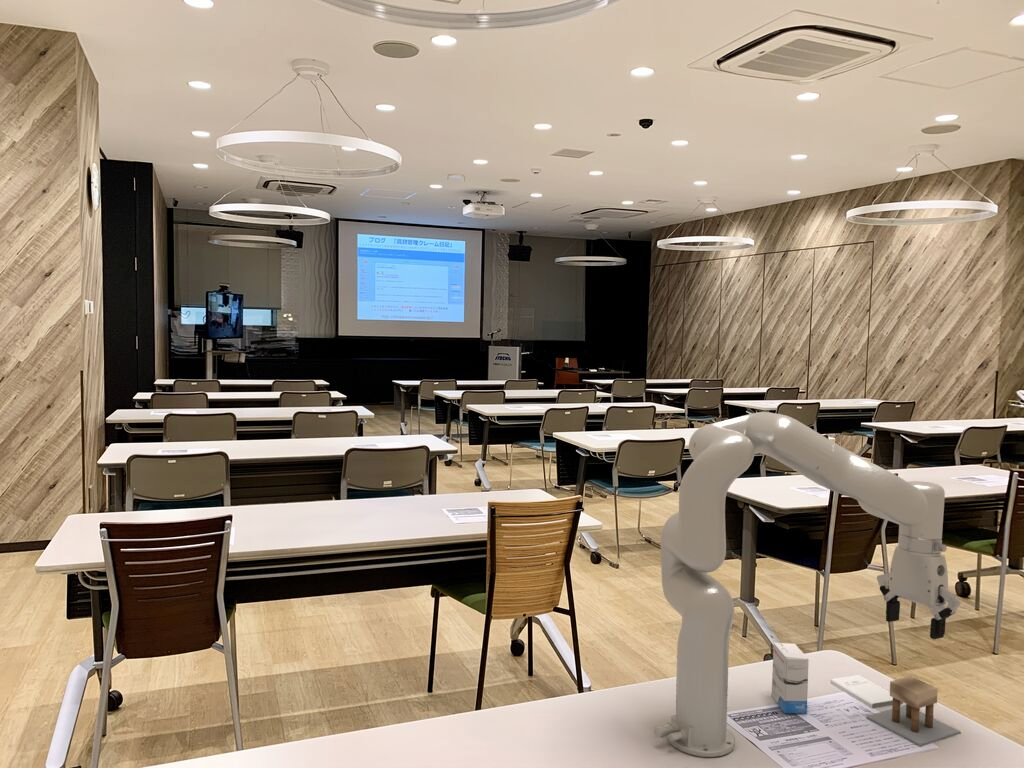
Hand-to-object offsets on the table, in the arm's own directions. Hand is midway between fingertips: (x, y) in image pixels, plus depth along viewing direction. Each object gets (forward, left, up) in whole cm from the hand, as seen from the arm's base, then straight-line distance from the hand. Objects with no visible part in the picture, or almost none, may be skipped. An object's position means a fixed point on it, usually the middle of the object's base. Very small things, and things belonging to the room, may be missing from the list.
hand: (913, 629), depth 150 cm
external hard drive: (+4, +14, -21) cm, 25 cm away
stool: (0, 0, -19) cm, 19 cm away
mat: (+1, 0, -20) cm, 20 cm away
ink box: (-15, +17, -20) cm, 30 cm away
